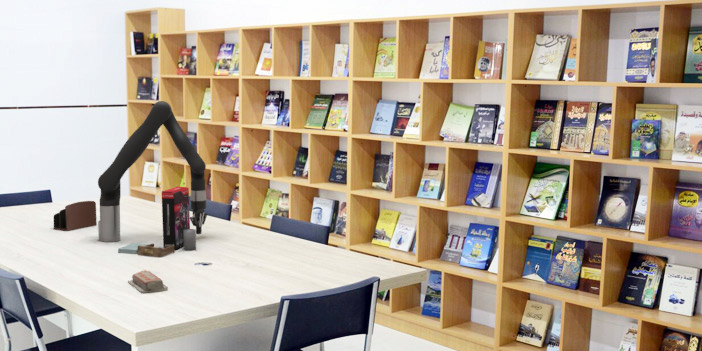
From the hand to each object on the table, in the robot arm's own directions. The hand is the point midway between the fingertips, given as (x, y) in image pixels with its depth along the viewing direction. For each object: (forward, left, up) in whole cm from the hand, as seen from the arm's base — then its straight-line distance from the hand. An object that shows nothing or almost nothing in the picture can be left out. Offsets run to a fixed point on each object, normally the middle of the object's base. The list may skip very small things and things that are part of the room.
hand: (198, 233), depth 375 cm
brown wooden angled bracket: (0, -36, -2) cm, 36 cm away
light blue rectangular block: (-13, -35, -3) cm, 37 cm away
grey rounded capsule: (+9, -23, -2) cm, 25 cm away
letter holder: (-73, -1, -3) cm, 73 cm away
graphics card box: (0, -20, -3) cm, 20 cm away
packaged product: (+28, -85, -3) cm, 89 cm away
